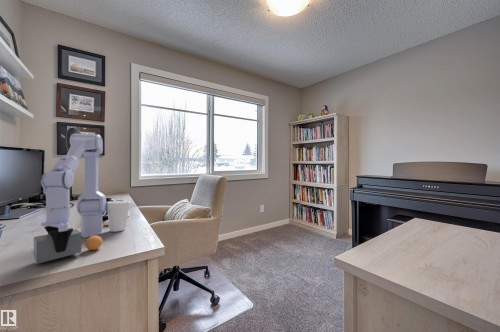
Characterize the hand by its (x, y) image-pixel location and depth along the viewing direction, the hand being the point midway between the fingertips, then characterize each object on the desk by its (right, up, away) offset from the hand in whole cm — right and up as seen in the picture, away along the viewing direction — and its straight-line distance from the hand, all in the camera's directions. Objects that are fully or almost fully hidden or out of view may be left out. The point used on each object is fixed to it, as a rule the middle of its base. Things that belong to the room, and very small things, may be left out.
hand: (58, 248), depth 69 cm
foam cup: (+1, -3, +30) cm, 30 cm away
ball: (+6, -1, +7) cm, 10 cm away
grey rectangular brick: (0, -2, 0) cm, 2 cm away
